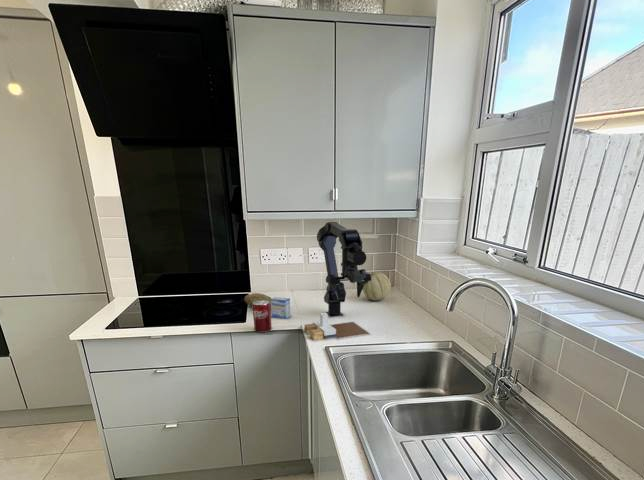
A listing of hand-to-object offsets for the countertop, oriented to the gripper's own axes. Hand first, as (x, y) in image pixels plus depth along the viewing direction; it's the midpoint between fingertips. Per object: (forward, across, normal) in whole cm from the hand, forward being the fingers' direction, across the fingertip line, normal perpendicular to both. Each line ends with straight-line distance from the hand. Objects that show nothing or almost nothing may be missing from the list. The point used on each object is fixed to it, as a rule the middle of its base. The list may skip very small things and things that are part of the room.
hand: (348, 298), depth 173 cm
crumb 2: (+12, -18, -10) cm, 24 cm away
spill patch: (+12, -4, -6) cm, 14 cm away
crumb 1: (+12, -18, -2) cm, 22 cm away
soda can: (+12, -36, +8) cm, 39 cm away
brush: (+12, -14, -6) cm, 19 cm away
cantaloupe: (+12, +30, +31) cm, 45 cm away
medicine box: (+12, -24, +23) cm, 35 cm away
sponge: (+12, -30, +41) cm, 52 cm away
